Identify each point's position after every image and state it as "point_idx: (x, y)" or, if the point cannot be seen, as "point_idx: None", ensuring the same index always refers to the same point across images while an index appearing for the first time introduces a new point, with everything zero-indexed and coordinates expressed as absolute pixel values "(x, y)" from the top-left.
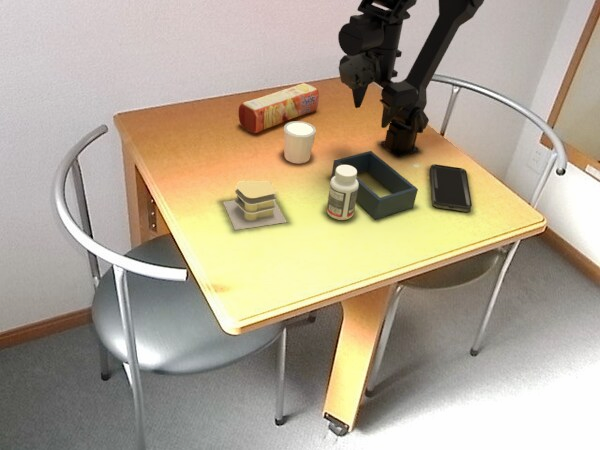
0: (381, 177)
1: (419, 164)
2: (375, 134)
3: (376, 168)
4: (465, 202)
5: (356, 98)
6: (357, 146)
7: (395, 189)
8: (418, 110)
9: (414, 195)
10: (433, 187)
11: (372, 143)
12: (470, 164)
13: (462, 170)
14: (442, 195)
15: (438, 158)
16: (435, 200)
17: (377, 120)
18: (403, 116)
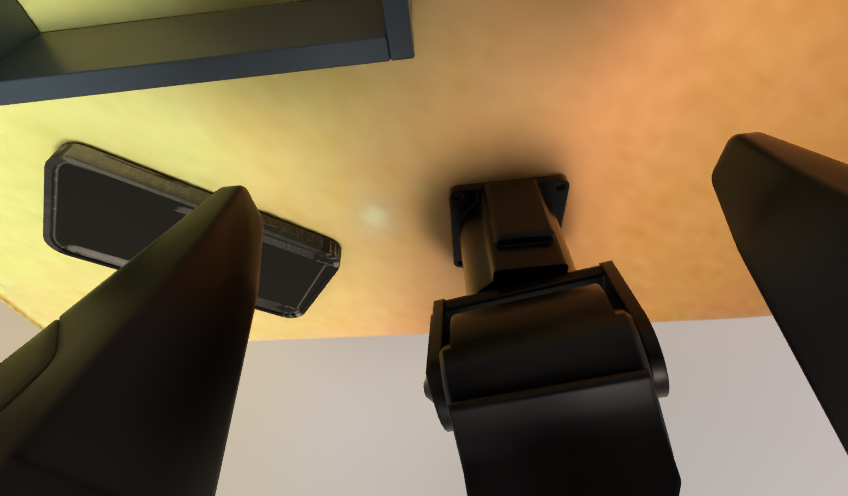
0: (257, 17)
1: (380, 229)
2: (634, 189)
3: (308, 21)
4: (85, 246)
5: (830, 207)
6: (612, 69)
7: (135, 32)
8: (441, 420)
9: None
10: (180, 200)
11: (589, 147)
12: (345, 332)
13: (293, 311)
14: (122, 203)
15: (398, 287)
16: (73, 164)
17: (700, 237)
18: (465, 348)
